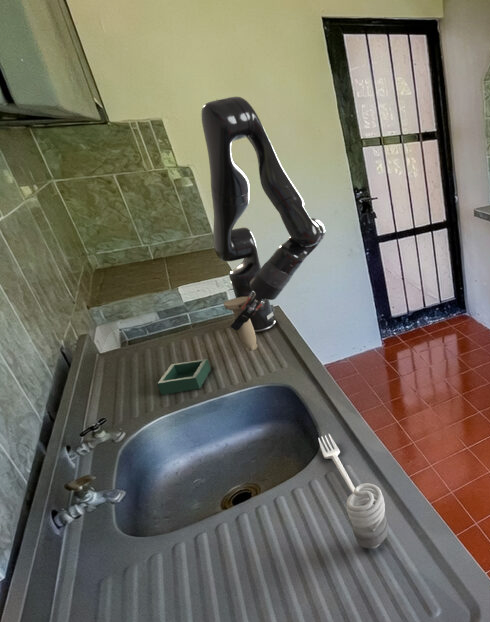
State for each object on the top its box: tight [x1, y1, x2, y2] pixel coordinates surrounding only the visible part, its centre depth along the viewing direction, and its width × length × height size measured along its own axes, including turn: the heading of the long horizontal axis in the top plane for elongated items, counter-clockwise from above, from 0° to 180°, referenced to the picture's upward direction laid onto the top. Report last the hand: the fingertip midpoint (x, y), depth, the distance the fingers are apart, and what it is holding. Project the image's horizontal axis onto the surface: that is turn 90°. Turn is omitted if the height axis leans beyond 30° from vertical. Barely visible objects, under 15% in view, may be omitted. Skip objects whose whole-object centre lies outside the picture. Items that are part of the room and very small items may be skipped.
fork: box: [317, 433, 356, 497], centre depth 91 cm, size 3×20×2 cm, turn 36°
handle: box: [223, 297, 258, 352], centre depth 126 cm, size 5×6×15 cm
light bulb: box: [346, 482, 389, 549], centre depth 72 cm, size 6×6×12 cm
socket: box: [156, 358, 212, 395], centre depth 122 cm, size 10×9×4 cm
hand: (236, 325), depth 125 cm, fingers closed on handle, 3 cm apart
